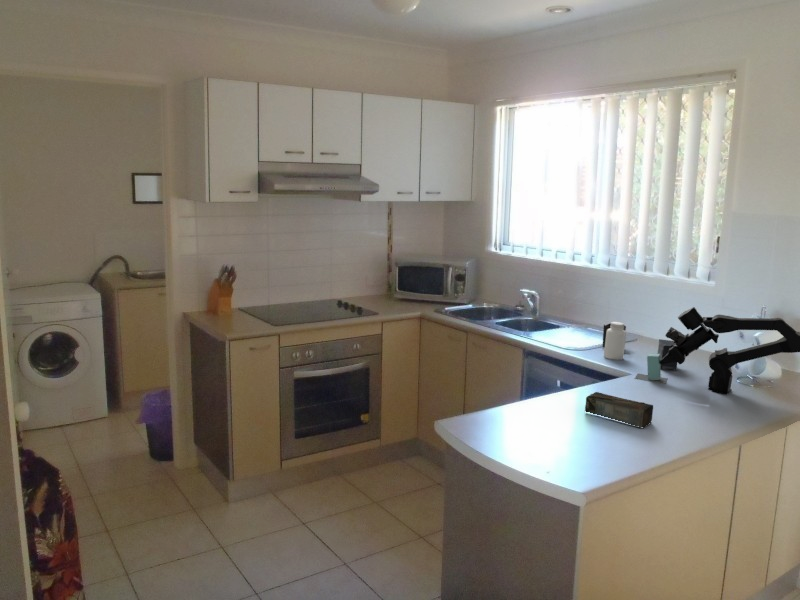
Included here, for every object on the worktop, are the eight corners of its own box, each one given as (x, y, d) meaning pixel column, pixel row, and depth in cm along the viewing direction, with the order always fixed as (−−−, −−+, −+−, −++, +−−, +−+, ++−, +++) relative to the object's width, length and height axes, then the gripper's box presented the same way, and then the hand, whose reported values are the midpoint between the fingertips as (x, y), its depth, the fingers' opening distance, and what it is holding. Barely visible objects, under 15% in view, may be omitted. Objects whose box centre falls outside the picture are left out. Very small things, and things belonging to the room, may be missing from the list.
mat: (668, 379, 251) (668, 378, 251) (665, 385, 244) (665, 383, 244) (637, 374, 256) (637, 373, 256) (634, 379, 249) (634, 378, 249)
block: (660, 377, 251) (660, 354, 249) (659, 380, 247) (658, 356, 246) (649, 376, 252) (648, 353, 251) (647, 379, 249) (647, 356, 248)
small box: (677, 372, 261) (680, 346, 259) (659, 370, 262) (662, 345, 260) (672, 365, 271) (675, 340, 269) (655, 363, 273) (658, 338, 271)
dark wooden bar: (594, 408, 218) (596, 388, 216) (652, 423, 206) (655, 403, 205) (583, 414, 212) (585, 394, 210) (643, 430, 200) (646, 410, 198)
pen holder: (599, 344, 301) (601, 322, 299) (620, 345, 300) (622, 323, 299) (604, 349, 292) (607, 327, 290) (626, 350, 291) (628, 328, 289)
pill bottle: (625, 361, 274) (628, 325, 271) (605, 359, 275) (608, 324, 273) (621, 356, 282) (625, 321, 279) (602, 354, 283) (605, 320, 280)
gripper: (683, 317, 250) (649, 340, 257) (678, 326, 234) (642, 351, 241) (703, 341, 248) (668, 364, 255) (699, 351, 232) (662, 376, 239)
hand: (660, 363), depth 248 cm, fingers closed
